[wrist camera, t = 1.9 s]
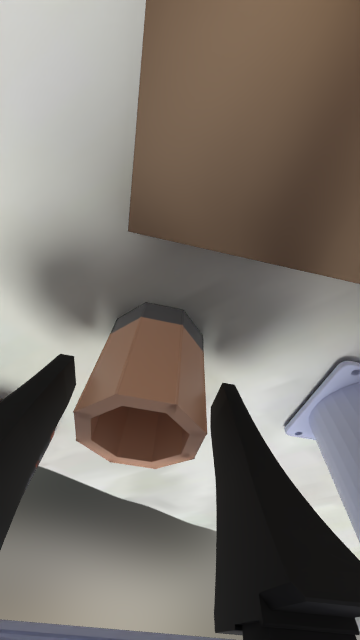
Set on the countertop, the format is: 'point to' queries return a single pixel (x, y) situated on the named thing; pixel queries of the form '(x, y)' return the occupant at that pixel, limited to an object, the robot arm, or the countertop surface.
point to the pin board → (252, 131)
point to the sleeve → (146, 391)
